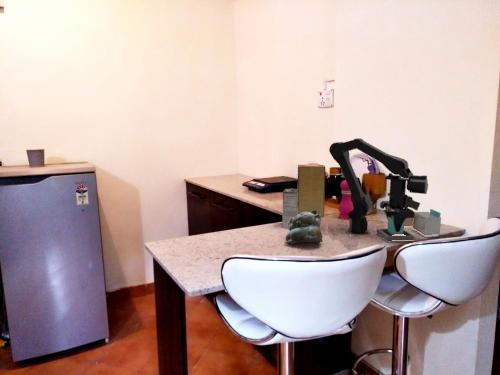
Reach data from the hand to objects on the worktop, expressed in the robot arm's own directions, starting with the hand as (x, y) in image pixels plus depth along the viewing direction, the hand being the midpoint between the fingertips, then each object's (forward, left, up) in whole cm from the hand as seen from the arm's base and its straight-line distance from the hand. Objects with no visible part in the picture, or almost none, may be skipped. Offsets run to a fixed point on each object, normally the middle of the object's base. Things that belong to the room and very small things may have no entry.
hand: (395, 230), depth 144 cm
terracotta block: (+11, +15, -3) cm, 19 cm away
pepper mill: (-10, +33, -3) cm, 35 cm away
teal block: (0, 0, -1) cm, 1 cm away
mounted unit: (+15, +5, -3) cm, 16 cm away
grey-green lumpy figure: (-37, -5, -3) cm, 38 cm away
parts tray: (0, 0, -3) cm, 3 cm away
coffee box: (-39, +20, -3) cm, 44 cm away
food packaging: (-26, +40, -3) cm, 48 cm away
